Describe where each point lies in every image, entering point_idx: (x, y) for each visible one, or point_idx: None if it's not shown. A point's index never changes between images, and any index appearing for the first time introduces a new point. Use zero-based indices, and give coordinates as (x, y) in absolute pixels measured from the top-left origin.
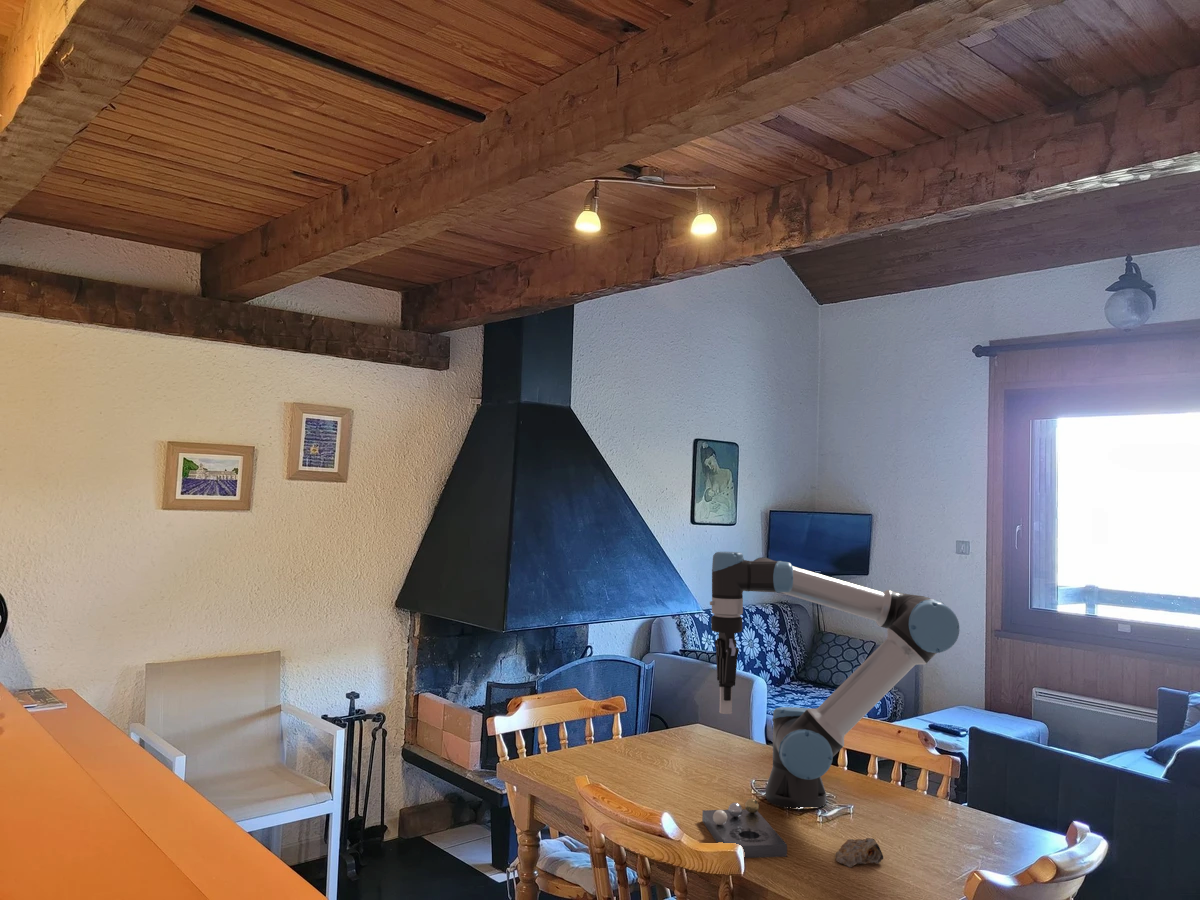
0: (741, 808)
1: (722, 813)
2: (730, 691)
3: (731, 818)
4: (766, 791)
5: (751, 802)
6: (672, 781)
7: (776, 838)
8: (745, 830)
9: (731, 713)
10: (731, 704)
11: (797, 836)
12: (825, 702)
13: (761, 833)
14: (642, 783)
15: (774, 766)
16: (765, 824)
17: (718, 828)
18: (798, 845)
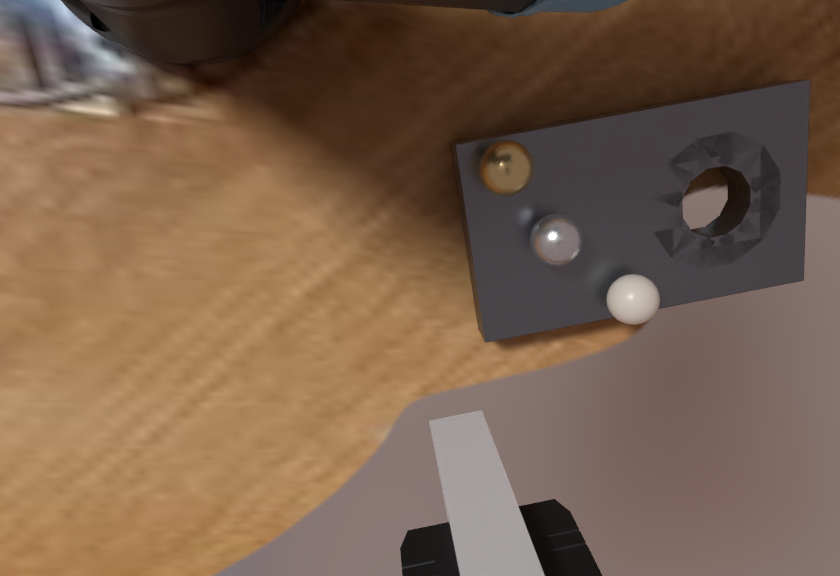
0: (570, 219)
1: (657, 298)
2: (599, 574)
3: None
4: (199, 61)
5: (529, 176)
6: (53, 421)
7: (754, 109)
8: (676, 210)
9: (481, 414)
10: (499, 459)
11: None
12: None
13: (706, 157)
14: (111, 517)
15: (170, 7)
16: (620, 129)
17: None
18: (691, 18)
